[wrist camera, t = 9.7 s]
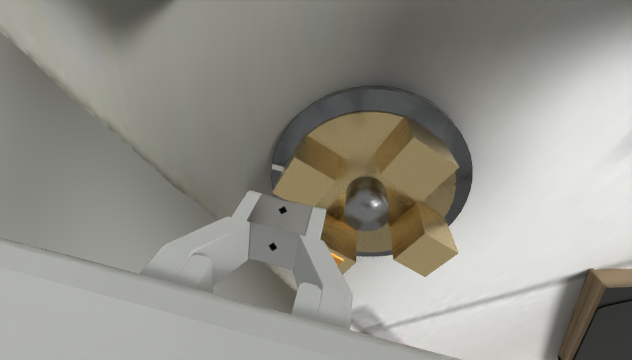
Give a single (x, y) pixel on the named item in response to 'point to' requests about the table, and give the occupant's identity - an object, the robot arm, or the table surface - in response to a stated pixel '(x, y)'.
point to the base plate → (389, 102)
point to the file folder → (601, 318)
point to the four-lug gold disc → (376, 188)
